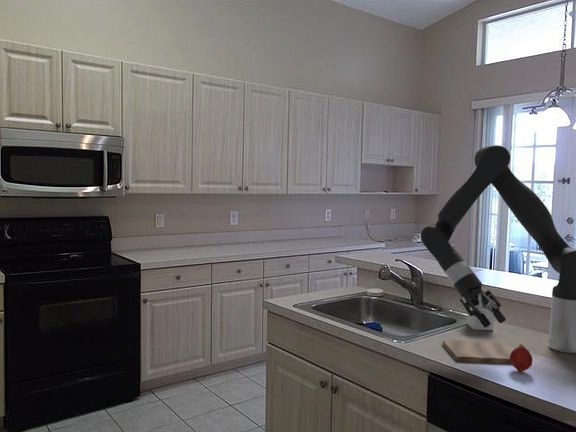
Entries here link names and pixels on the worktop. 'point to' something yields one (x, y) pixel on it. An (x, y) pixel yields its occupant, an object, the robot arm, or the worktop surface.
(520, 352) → the onion
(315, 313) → the worktop surface
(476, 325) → the supplement box
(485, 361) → the cutting board
